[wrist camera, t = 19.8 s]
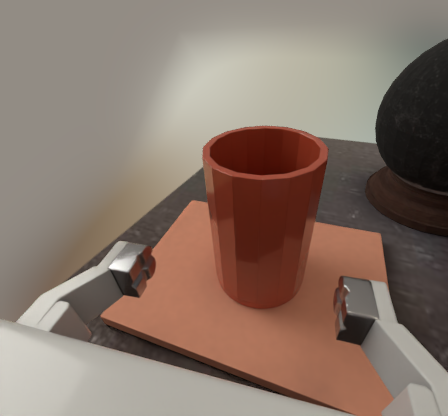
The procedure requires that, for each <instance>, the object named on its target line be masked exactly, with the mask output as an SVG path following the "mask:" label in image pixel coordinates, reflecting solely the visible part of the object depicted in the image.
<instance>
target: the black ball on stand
mask: <svg viewBox="0 0 448 416" xmlns="http://www.w3.org/2000/svg"><path fill="white" fill-rule="evenodd" d="M375 129H376V142H377V146H378V149H379V152H380V154H381V157H382V158H383V160H384V162H385V163H386V165H387V166H386V167H384V168H382V169H380V170H379V171H378V172H376V173H374V174H373V175H372V176H370V178H369V179H368V181H367V184H366V189H365V193H366V196H367V198H368V200H369V201H370V203H371V204H372V205H373V206H374V207H375V208H376V209H377V210H378V211H380V212H381V213H383V214H384V215H385V216H387V217H389V218H391V219H392V220H394V221H396V222H398V223H401V224H403V225H405V226H408V227H410V228H413V229H416V230H419V231H423V232H427V233H431V234H436V235H442V236H448V39H446V40H444V41H442V42H440V43H438V44H437V45H435V46H434V47H432V48H430V49H429V50H427V51H425V52H424V53H422V54H421V55H420V56H419V57H418V58H417V59H415V60H414V61H413V62H412V63H410V64H409V65H408V66H407V67H406V68H405V69H404V70H403V72H402V73H401V74H400V75H399V76H398V77H397V78H396V79H395V81H393V83H392V85H391V86H390V88H389V89H388V91H387V92H386V94H385V95H384V97H383V100H382V102H381V105H380V107H379V110H378V115H377V120H376V127H375Z"/></svg>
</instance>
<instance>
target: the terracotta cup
mask: <svg viewBox="0 0 448 416" xmlns="http://www.w3.org/2000/svg"><path fill="white" fill-rule="evenodd" d="M328 150H329V149H328V147H327V146H326V145H325V144H324V143H323V141H322V140H321V139H319V138H318V137H316V136H313V135H311V134H309V133H307V132H304V131H301V130H296V129H292V128H288V127H276V126H255V127H244V128H240V129H236V130H231V131H227V132H224V133H222V134H220V135H218V136H216V137H214V138H212V139H211V140H210V141H209V142H208V143H207V144H206V145H205V146H204V147H203V157H202V158H203V167H204V175H205V183H206V192H207V200H208V208H209V216H210V224H211V232H212V241H213V249H214V257H215V265H216V273H217V277H218V281H219V284H220V286H221V288H222V289H223V291H224V292H225V293H226V294H227V295H228V296H229V297H230V298H231V299H233V300H234V301H236V302H237V303H239V304H241V305H244V306H247V307H251V308H257V309H268V308H274V307H278V306H281V305H283V304H285V303H287V302H288V301H290V300H291V299H292V298H294V296H295V295H296V294H297V293H298V291H299V290H300V288H301V285H302V282H303V278H304V273H305V268H306V263H307V258H308V253H309V248H310V244H311V239H312V234H313V229H314V224H315V219H316V214H317V209H318V204H319V199H320V194H321V189H322V184H323V179H324V174H325V169H326V165H327V159H328Z"/></svg>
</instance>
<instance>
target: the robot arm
mask: <svg viewBox="0 0 448 416" xmlns="http://www.w3.org/2000/svg"><path fill="white" fill-rule="evenodd" d="M152 252H153V251H152V248H151V246H146V245H141V244H136V243H130V242H124V241H119V242H117V243H116V244H115V246H114V247H113V248H112V249H111V250H110V252H109V253H108V254H107V255H106V257H105V258H104V259H103V260H102V261H101V263H100V264H99V265H98V266H97V267H92V268H91V269H89V270H87V271H85V272H83V273H81V274H79V275H78V276H76V277H74V278H72V279H70V280H68V281H66V282H65V283H63V284H61V285H59V286H57V287H55V288H53V289H51V290H50V291H48V292H46V293H44V294H42V295H41V296H40V297H39V298H38V299H37V300H36V301H35V302H34V303H33V304H32V305H31V306H30V308H29V309H28V310H27V311H26V312H25V313H24V314H23V315H22V316H21V317H20V318H19V319H18V320H17V321H16V322H11V321H7V320H4V319H0V416H356V415H352V414H349V413H345V412H341V411H338V410H334V409H330V408H327V407H323V406H319V405H316V404H312V403H308V402H305V401H301V400H297V399H294V398H290V397H286V396H283V395H279V394H275V393H272V392H268V391H264V390H261V389H257V388H253V387H250V386H246V385H242V384H239V383H235V382H231V381H228V380H224V379H220V378H217V377H213V376H209V375H206V374H202V373H198V372H195V371H191V370H187V369H184V368H180V367H176V366H173V365H169V364H165V363H162V362H158V361H154V360H151V359H147V358H143V357H140V356H136V355H132V354H129V353H125V352H121V351H118V350H114V349H110V348H107V347H103V346H99V345H96V344H92V343H88V340H89V339H90V337H91V332H90V330H89V329H88V328H87V326H86V325H87V324H88V323H89V322H91V321H92V320H93V319H94V318H96V317H97V316H98V315H100V314H101V313H102V312H104V311H105V310H106V309H107V308H109V307H110V306H111V305H113V304H114V303H115V302H116V301H118V300H119V299H120V298H122V297H123V295H125V296H131V297H136V298H140V297H141V295H142V294H143V292H144V290H145V289H146V287H147V282H146V281H147V280H149V279H151V278H152V276H153V275H154V273H155V269H156V260H155V258H154V257H153V256H152V255H151V253H152ZM338 285H339V287H338V288H336V289H335V293H334V299H333V308H334V313H335V314H336V316H337V318H336V321H335V332H336V340H339V341H344V342H348V343H352V344H356V345H360V346H361V348H362V350H363V352H364V353H365V355H366V356H367V358H368V359H369V361H370V362H371V364H372V366H373V367H374V369H375V370H376V372H377V373H378V375H379V376H380V378H381V380H382V381H383V383H384V384H385V386H386V387H387V389H388V390H389V392H390V394H391V395H392V397H393V398H394V400H393V401H392V402H391V403H390V404H389V405H388V406H387V407H386V408H385V409H384V410H383V411H382V412H381V413H382V416H448V372H447V371H446V370H445V369H444V368H443V367H442V366H441V365H440V364H439V363H438V362H437V361H436V359H435V358H434V357H433V356H432V355H431V354H430V353H429V352H428V351H427V350H426V349H425V348H424V347H423V346H422V345H421V344H420V342H419V341H418V340H417V339H416V338H415V337H414V336H413V335H412V334H411V333H410V332H409V331H408V330H407V329H406V328H405V327H404V325H402V324H398V322H397V318H396V315H395V311H394V308H393V304H392V301H391V298H390V294H389V291H388V287H387V285H386V283H385V282H379V281H373V280H368V279H361V278H354V277H347V276H340V278H339V280H338Z"/></svg>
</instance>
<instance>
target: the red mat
mask: <svg viewBox="0 0 448 416" xmlns="http://www.w3.org/2000/svg"><path fill="white" fill-rule="evenodd" d="M152 251H153V252H152V253H151V255H152V256H153V257H154V258H155V260H156V269H155V273H154V275H153V276H152V278H151V279H149V280H147V281H146V282H147V287H146V289H145V290H144V292H143V294H142V295H141V297H140V298H136V297H131V296H125V295H123V297H122V298H120V299H119V300H118V301H116V302H115V303H114V304H113V305H111V306H110V307H109V308H107V309H106V310H105V311H104V312H103V314H102V315H101V316H100V317H101V318H102V320H103V321H104V323H105V324H107V325H109V326H112V327H114V328H117V329H119V330H122V331H124V332H127V333H129V334H132V335H134V336H137V337H140V338H142V339H145V340H147V341H150V342H152V343H155V344H157V345H160V346H162V347H165V348H167V349H170V350H172V351H175V352H177V353H180V354H183V355H185V356H188V357H190V358H193V359H195V360H198V361H200V362H203V363H205V364H208V365H210V366H213V367H215V368H218V369H220V370H223V371H226V372H228V373H231V374H233V375H236V376H238V377H241V378H243V379H246V380H248V381H251V382H253V383H256V384H258V385H261V386H263V387H266V388H269V389H271V390H274V391H276V392H279V393H281V394H284V395H286V396H289V397H291V398H294V399H297V400H301V401H305V402H308V403H312V404H316V405H319V406H323V407H327V408H330V409H334V410H338V411H341V412H345V413H349V414H352V415H356V416H382V413H381V412H382V411H383V410H384V409H385V408H386V407H387V406H388V405H389V404H390V403H391V402H392V401H393V400H394V398H393V397H392V395H391V394H390V392H389V390H388V389H387V387H386V386H385V384H384V383H383V381H382V380H381V378H380V376H379V375H378V373H377V372H376V370H375V369H374V367H373V366H372V364H371V362H370V361H369V359H368V358H367V356H366V355H365V353H364V352H363V350H362V348H361V346H360V345H356V344H352V343H348V342H344V341H339V340H336V332H335V321H336V318H337V316H336V314H335V313H334V308H333V299H334V293H335V289H336V288H338V287H339V285H338V280H339V278H340V276H347V277H354V278H361V279H368V280H373V281H379V282H385V283H386V285H387V287H388V281H387V274H386V267H385V260H384V253H383V246H382V239H381V234H380V233H374V232H369V231H363V230H357V229H352V228H346V227H341V226H335V225H329V224H324V223H318V222H315V224H314V229H313V234H312V239H311V244H310V248H309V253H308V258H307V263H306V268H305V273H304V278H303V282H302V285H301V288H300V290H299V291H298V293H297V294H296V295H295V296H294V298H292V299H291V300H290V301H288V302H287V303H285V304H283V305H281V306H278V307H274V308H268V309H257V308H251V307H247V306H244V305H241V304H239V303H237V302H236V301H234V300H233V299H231V298H230V297H229V296H228V295H227V294H226V293H225V292H224V291H223V289H222V288H221V286H220V284H219V281H218V277H217V273H216V265H215V257H214V249H213V241H212V232H211V224H210V216H209V208H208V203H205V202H200V201H194V200H192V201H191V202H190V203H189V205H188V206H187V207H186V208H185V210H184V211H183V212H182V214H181V215H180V216H179V217H178V219H177V220H176V221H175V222H174V224H173V225H172V226H171V227H170V229H169V230H168V231H167V233H166V234H165V235H164V236H163V238H162V239H161V240H160V241H159V243H158V244H157V245H156V246H155V248H154V249H153V250H152ZM388 291H389V287H388Z"/></svg>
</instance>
